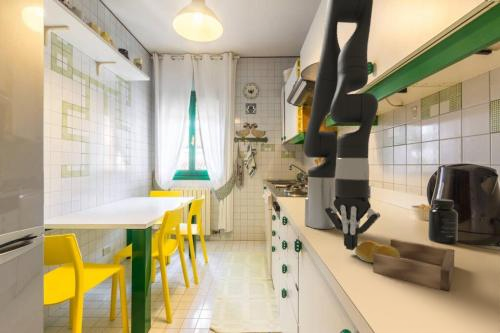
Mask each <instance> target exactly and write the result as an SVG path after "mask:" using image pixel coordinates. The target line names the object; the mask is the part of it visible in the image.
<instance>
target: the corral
mask: <svg viewBox="0 0 500 333" xmlns="http://www.w3.org/2000/svg"><path fill="white" fill-rule="evenodd" d="M389 246H391V247H393V248H395V249H396V250H397V251H398V252H399V254H400V258H396V257H391V256H387V255H382V254H377V253H375V254H373V262H372V263H373V264H372V266H373V267H372V268H373V269H372V272H373V273H376V274H379V275H380V274H381V275H384V276H388V277H392V278H395V279H399V280H402V281H403V280H404V281H406V282H407V281H408V282H410V283H415V284H419V285H422V286H425V287H430V288H435V289H438V290H443V291H446V292H449V291H450V290H451V288H450V287H451V284H452V282H451V281H452V278H453V273H454V268H455V249H452V248H445V247H442V246H441V247H440V246H434V245H428V244H424V243H423V244H422V243H417V242H412V241H405V240H400V239H395V238H391V239H390V245H389ZM404 258H407V259H404ZM408 259H412V260H408ZM413 260H414V261H413ZM419 261H421V262H419ZM422 262H424V263H422ZM425 262H426V263H425ZM427 263H430V264H427ZM433 264H435V265H433Z"/></svg>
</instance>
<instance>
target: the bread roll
mask: <svg viewBox="0 0 500 333" xmlns="http://www.w3.org/2000/svg"><path fill="white" fill-rule="evenodd" d="M354 250H355V251H354V253H355V256H356V257H357V258H358V259H360V260H362V261H364V262H367V263H373V254H375V253H377V254H382V255H387V256H391V257H396V258H401V256H400V254H399V252H398V251H397V250H396V249H395V248H393V247H391V246H390V245H387V244H379V243H378V242H376V241H373V240H365V241H362V242H360V244H358V246H357V247H356V248H355V249H354Z"/></svg>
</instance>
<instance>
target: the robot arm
mask: <svg viewBox="0 0 500 333" xmlns="http://www.w3.org/2000/svg"><path fill="white" fill-rule="evenodd" d="M373 5H374V0H327V4H326V10H325V11H326V12H325V20H324V28H323V37H322V43H321V52H320V57H319V61H318V67H317V72H316V78H315V84H314V90H313V98H312V103H311V104H312V105H311V111H310V115H309V119H308V123H307V127H306V132H305V136H304V140H303V154H304V155H305V157H307V158H318V159H319V158H320V159H322V158H323V161H322V162H321V163H320V164H318V165H316V166H313V167H311V168H308V171H307V197H306V198H305V199H304V226H307V227H310V228H313V229H317V230H318V229H320V230H328V229H329V230H331V229H333V228H335V229H336V230H339V231H342V233H343V245H344V247H345V250H350V251H354V250H355V249H356V247H357V246H359V242H358V241H359V235H360V234H363V233H365V232H367V231H368V230H369V229H370V228H371V227H372V225H374V223H376V221H377V220H378V219H379V218H380V217H381V214H380V212H377V211H374V209H372V208H371V207H372V206H371V203H370V200H369V197H370V196H369V195H370V194H369V193H370V192H369V191H370V164H369V147H370V144H369V143H370V136H371V131H372V129H373V128H372V127H373V125H374V122H375V118H376V116H377V113H378V109H379V102H378V99H377V97H376V96H375V95H374V94H373V93H370V92H364V93H363V92H362V93H353V92H356V91H359V90H362V89H364V88H365V87H366V86H367V84H368V81H369V73H368V72H369V67H368V66H369V64H368V48H369V46H368V45H369V38H370V32H371V31H370V30H371V24H372V22H371V21H372V14H373ZM339 23H343V24H345V23H346V24H355V25H356V27H355V29H354V32H353V33H352V34H351V35H350V37H349V39H348V40H347V41H346V42H345V43H344V45H343V46H342V48H341V47H340V45H339V44H340V43H339V38H338V24H339ZM328 115H330V118H331V120H332V121H333V122H334V123H336V124H339V125H344V124H345V125H346V124H348V125H349V124H352V125H353V124H359V125H360V126H359V128H358V129H356V130H355V131H352V132H347V133H342V134H340V135H339V136H337V134H336V132H334V131H320V129H321V126H322V124H323V122H324V121H325V119H326V118H327V116H328ZM365 215H366V220H365V222H364V223H363V224H362V225H361V226H360V224H361V219H363V218H364V217H365Z"/></svg>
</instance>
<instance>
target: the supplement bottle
mask: <svg viewBox="0 0 500 333" xmlns="http://www.w3.org/2000/svg"><path fill="white" fill-rule="evenodd" d="M454 203H455V202H454V200H453V199H448V198H433V199H432V206H433V207H432V208H430V209H429V210H428V227H427V228H428V230H427V231H428V235H427V237H428V239H429V240H430V241H431V242H433V243H437V244H443V245H454V244H457V243H458V229H459V228H458V226H459V224H458V222H459V220H458V219H459V213H458V212H457V210H455V209H454V208H455V205H454Z"/></svg>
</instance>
